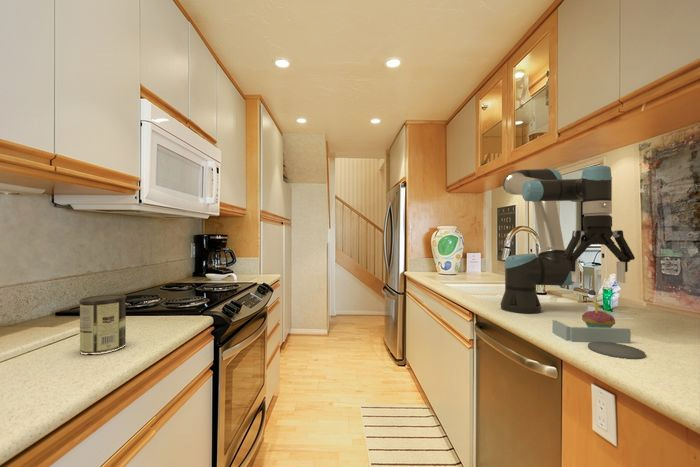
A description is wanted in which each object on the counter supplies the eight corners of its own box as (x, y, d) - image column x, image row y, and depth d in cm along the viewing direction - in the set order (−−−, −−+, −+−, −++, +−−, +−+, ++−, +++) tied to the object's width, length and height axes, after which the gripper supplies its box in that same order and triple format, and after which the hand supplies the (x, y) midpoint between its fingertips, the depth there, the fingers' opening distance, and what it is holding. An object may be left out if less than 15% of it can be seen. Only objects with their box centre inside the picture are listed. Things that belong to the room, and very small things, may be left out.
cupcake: (610, 339, 100) (610, 299, 100) (577, 333, 106) (577, 295, 107) (618, 334, 105) (618, 295, 106) (586, 328, 112) (586, 292, 112)
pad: (578, 343, 96) (578, 341, 96) (623, 344, 95) (623, 342, 95) (606, 358, 84) (606, 355, 84) (658, 359, 83) (658, 357, 83)
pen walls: (552, 332, 107) (552, 320, 107) (609, 334, 105) (609, 321, 105) (568, 341, 98) (568, 327, 98) (630, 343, 96) (630, 329, 96)
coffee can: (106, 341, 97) (107, 293, 98) (134, 344, 95) (135, 295, 95) (68, 353, 88) (69, 299, 88) (98, 357, 85) (99, 301, 85)
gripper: (562, 214, 104) (563, 283, 103) (648, 214, 101) (650, 284, 101) (550, 216, 111) (550, 280, 111) (630, 216, 109) (631, 281, 108)
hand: (598, 282), depth 106 cm, fingers open, 13 cm apart
